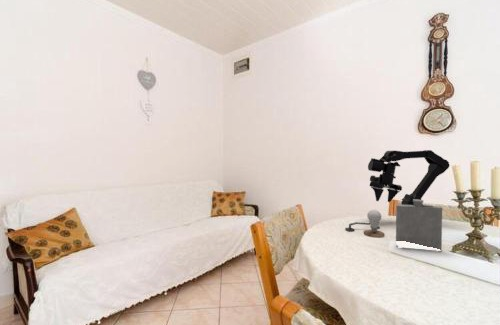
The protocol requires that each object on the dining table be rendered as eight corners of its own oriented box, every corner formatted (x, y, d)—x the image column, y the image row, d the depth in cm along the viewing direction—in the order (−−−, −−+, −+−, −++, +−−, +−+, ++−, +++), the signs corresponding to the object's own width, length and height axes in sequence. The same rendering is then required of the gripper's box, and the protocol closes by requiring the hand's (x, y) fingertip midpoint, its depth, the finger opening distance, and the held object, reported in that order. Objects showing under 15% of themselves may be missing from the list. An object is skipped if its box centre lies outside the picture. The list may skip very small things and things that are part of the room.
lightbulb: (365, 230, 123) (365, 208, 123) (379, 230, 122) (379, 208, 122) (369, 234, 117) (369, 211, 117) (383, 234, 116) (383, 211, 116)
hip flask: (396, 247, 103) (397, 199, 102) (394, 244, 106) (394, 198, 106) (442, 252, 98) (443, 201, 97) (438, 248, 101) (439, 199, 101)
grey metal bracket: (374, 226, 131) (375, 220, 131) (380, 228, 128) (380, 222, 127) (345, 229, 127) (345, 223, 127) (349, 232, 123) (349, 225, 123)
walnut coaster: (386, 233, 120) (386, 232, 120) (381, 238, 113) (382, 237, 113) (366, 230, 126) (366, 228, 126) (361, 234, 119) (361, 233, 119)
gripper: (386, 172, 146) (381, 198, 147) (363, 169, 138) (358, 197, 139) (404, 176, 136) (399, 203, 137) (381, 172, 128) (376, 202, 129)
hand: (383, 201), depth 135 cm, fingers open, 9 cm apart
